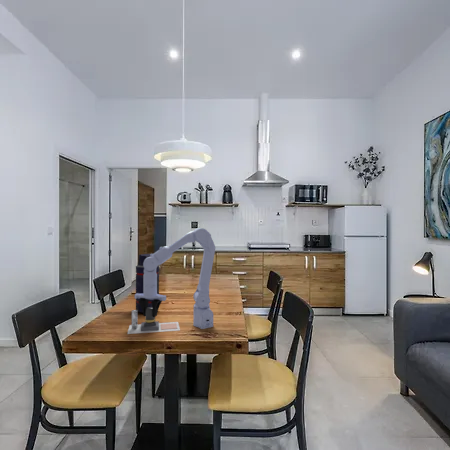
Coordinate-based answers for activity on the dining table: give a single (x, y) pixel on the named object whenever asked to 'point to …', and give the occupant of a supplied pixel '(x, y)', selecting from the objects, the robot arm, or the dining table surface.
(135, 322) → the retention clip
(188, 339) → the dining table surface
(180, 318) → the dining table surface
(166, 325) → the pad
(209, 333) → the dining table surface
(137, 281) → the red-striped navy canister
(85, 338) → the dining table surface
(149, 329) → the dock board
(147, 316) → the plug
